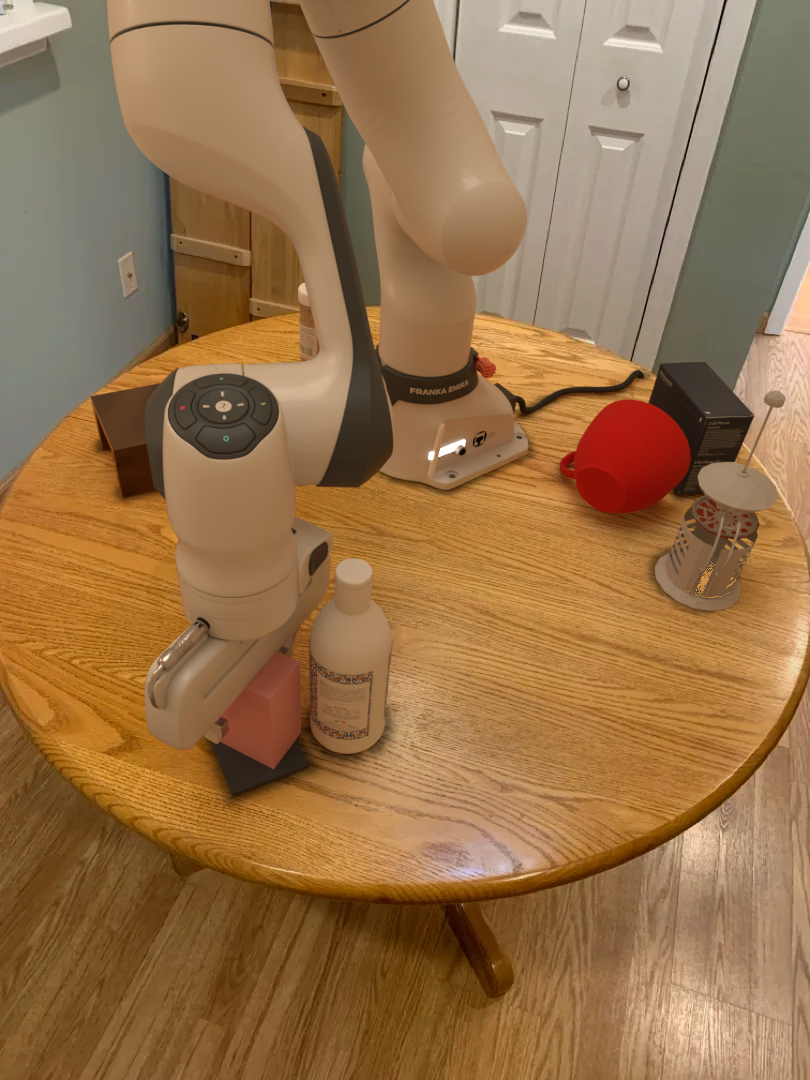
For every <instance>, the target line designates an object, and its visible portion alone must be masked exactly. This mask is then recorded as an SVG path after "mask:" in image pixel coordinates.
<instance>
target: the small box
mask: <svg viewBox="0 0 810 1080" xmlns="http://www.w3.org/2000/svg"><path fill="white" fill-rule="evenodd" d="M648 403H649V404H652V405H654V406H656V407H657V408H659V409H661V410H662V411H664V412H665V413H666V414H668V415H669V416H670V417H671V418H672V419H673V420H674V421H675V422H676V423H677V424H678V426H679V427H680V428H681V430H682V431H683V433H684V435H685V437H686V439H687V441H688V444H689V448H690V456H691V460H690V466H689V469H688V471H687V473H686V475H685V476H684V478H683V479H682V480H681V481H680V482H679V483H678V484H677V486H676V487H675V488H674V489H673V490H672V491H674V493H675V494H676V495H677V496H687V495H699V494H704V492H703V491H702V490H701V488H700V486H699V480H698V474H699V472H700V471H701V469H702V468H703V467H705V466H707V465H709V464H711V463H720V462H737V461H736V460H737V458H738V456H739V453H740V451H741V449H742V446H743V445H744V442H745V440H746V437H747V434H748V432H749V431H750V427H751V425H752V422H753V420H754V418H755V414H754V413H753V412H752V410H750V408H749V407H748V406H747V405H746V404H745V403H744V402H743V401H742V400H741V398H739V396H737V394H735V392H734V391H733V390H732V389H731V388H730V387H729V386H728V385H727V384H726V383H725V382H724V380H723V379H722V378H721V377H720V376H719V375H718V374H717V373H716V372H715V371H714V369H713V368H712V367H711V366H710V365H709V364H708V363H707V362H706V361H691V362H690V361H686V362H685V361H684V362H664V363H663V362H662V363H660V364H659V367H658V371H657V374H656V378H655V381H654V384H653V387H652V390H651V393H650V396H649V400H648Z"/></svg>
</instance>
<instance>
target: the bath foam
mask: <svg viewBox="0 0 810 1080" xmlns="http://www.w3.org/2000/svg"><path fill="white" fill-rule="evenodd" d="M373 574H374V573H373V568H372V566H371V565H370V563H368V562H367V561H365V560H364V559H361V558H355V557H352V558H346V559H343V560H341V561H340V562H338V563H337V565H336V566H335V569H334V591H333V593H334V597H332V599H331V600H330V601H328V602H327V603H326V604H325V605H324V606H323V607H322V608H321V609H320V611H318V613H317V615H316V617H315V619H314V620H313V623H312V626H311V629H310V634H309V638H308V650H309V651H308V660H309V661H308V665H309V667H308V672H309V673H308V676H309V677H308V678H309V679H308V681H309V725H310V730H311V733H312V735H313V737H314V738H315V740H316V741H317V742H318V743H319V744H320V745H321V746H323V747H324V748H326V749H327V750H329V751H331V752H334V753H336V754H337V753H338V754H345V755H351V754H357V753H361V752H364V751H366V750H368V749H369V748H371V747H372V746H374V745H375V744H376V743H377V742H378V741H379V740H380V738H381V737H382V735H383V732H384V730H385V727H386V717H387V708H388V697H389V688H390V687H389V686H390V677H391V676H390V674H391V666H392V665H391V664H392V652H393V636H392V630H391V626H390V623H389V620H388V618H387V616H386V614H385V612H384V611H383V610H382V609H381V607H380V606H379V605H378V604H377V603H376V602H375V601H374V600H373V599H372V591H373Z"/></svg>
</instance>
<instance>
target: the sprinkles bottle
mask: <svg viewBox="0 0 810 1080" xmlns="http://www.w3.org/2000/svg"><path fill="white" fill-rule="evenodd" d="M297 301H298V304H299V320H298V324H299V325H298V327H299V329H298V330H299V331H298V332H299V355H300V362H302V361H308V360H311V359H313V358H315V357H316V356H317V355H318V353H319V351H320V346H319V342H318V337H317V333H316V329H315V324H314V320H313V316H312V311H311V307H310V303H309V298H308V294H307V290H306V285H305V282H302V283H301V284H299V286H298V289H297Z"/></svg>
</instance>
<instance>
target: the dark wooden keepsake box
mask: <svg viewBox="0 0 810 1080" xmlns="http://www.w3.org/2000/svg"><path fill="white" fill-rule="evenodd" d="M160 384H161V382H159V383H153V384H148V385H143V386H138V387H131V388H127V389H122V390H116V391H111V392H106V393H101V394H96V395H90V401H91V405H92V411H93V415H94V421H95V424H96V430H97V435H98V439H99V444H100V446H101V448H102V451H103V450H107V449H110V451H111V454H112V459H113V464H114V469H115V473H116V478H117V479H116V480H117V484H118V489H119V492H120V495H121V497H122V499H125V498H130V497H133V496H137V495H143V494H146V493H150V492H154V491H157V490H156V488H155V487H154V485H153V479H152V473H151V467H150V461H149V455H148V450H147V444H146V437H145V410H146V405H147V401H148V399H149V398H150V396H151V395H152V394H153V392H154V391H155V390H156V389H157V387H158V386H159V385H160Z"/></svg>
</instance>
